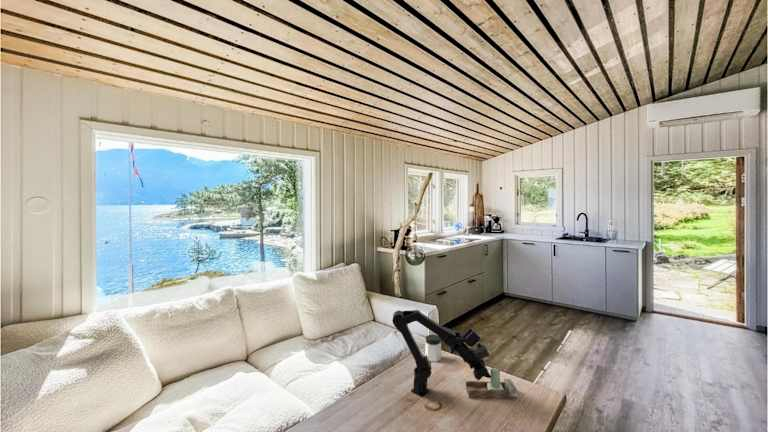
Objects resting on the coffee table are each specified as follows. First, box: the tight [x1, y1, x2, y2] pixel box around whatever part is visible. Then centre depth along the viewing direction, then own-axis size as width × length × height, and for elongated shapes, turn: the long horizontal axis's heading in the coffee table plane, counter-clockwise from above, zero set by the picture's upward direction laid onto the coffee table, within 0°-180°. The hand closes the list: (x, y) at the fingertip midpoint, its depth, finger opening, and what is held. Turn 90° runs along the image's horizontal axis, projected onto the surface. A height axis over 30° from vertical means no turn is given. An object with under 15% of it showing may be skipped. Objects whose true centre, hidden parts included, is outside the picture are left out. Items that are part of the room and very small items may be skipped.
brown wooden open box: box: [465, 378, 518, 401], centre depth 147 cm, size 21×8×5 cm, turn 86°
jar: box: [424, 334, 442, 363], centre depth 182 cm, size 9×8×12 cm
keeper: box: [487, 367, 504, 390], centre depth 146 cm, size 6×5×9 cm
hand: (490, 377), depth 146 cm, fingers closed, pressing on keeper
